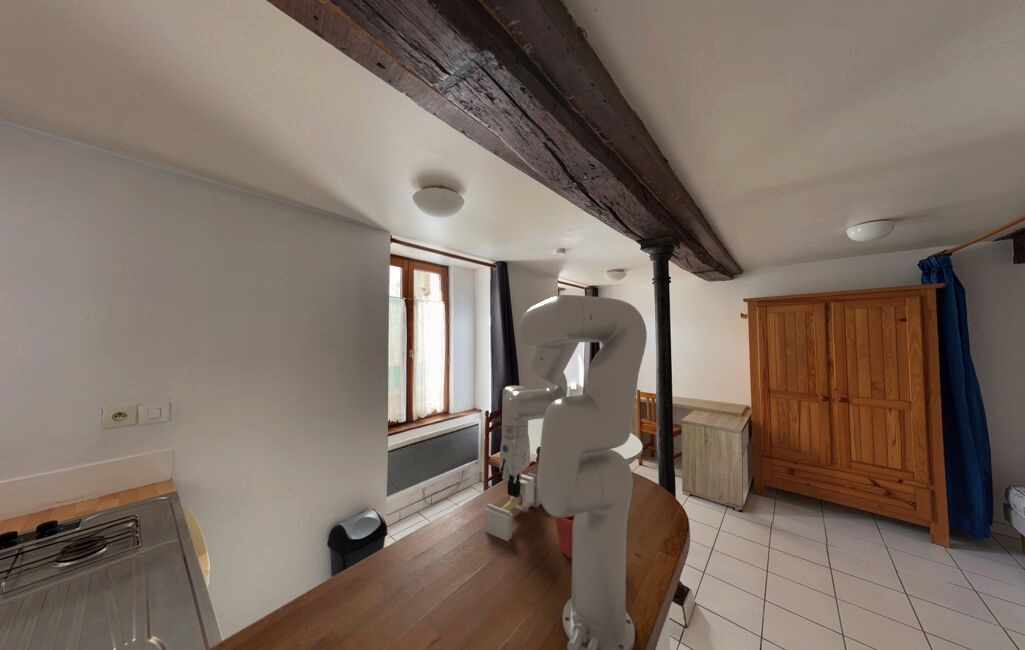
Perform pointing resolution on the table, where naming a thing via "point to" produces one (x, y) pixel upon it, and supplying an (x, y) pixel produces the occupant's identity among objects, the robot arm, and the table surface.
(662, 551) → the table surface
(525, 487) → the grooved sliding block
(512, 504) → the rail
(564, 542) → the flower pot
